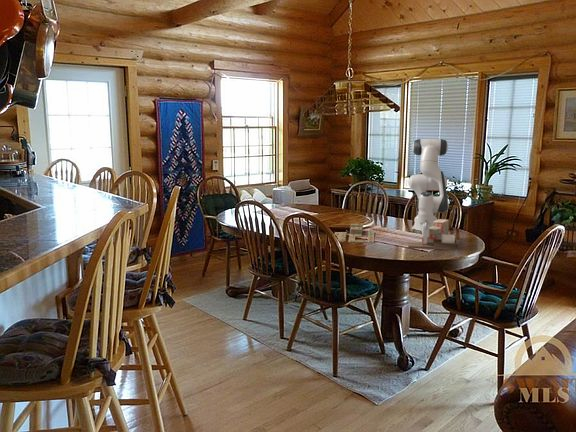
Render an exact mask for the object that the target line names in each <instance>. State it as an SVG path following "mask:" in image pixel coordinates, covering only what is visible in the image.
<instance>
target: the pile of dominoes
mask: <svg viewBox="0 0 576 432" xmlns="http://www.w3.org/2000/svg"><path fill="white" fill-rule="evenodd" d="M363 225H364V224H363V223H351V224H350V229H349V236H348V243H365V244H366V243H367V244H374V243H375V231H374V230H368V231H367V240H365V239H364V240H362V239H360V240H359V239H358V240H357V239H356V237H359V238H360V237H362V236H363V229H364V227H363ZM351 226H356V227H351ZM347 234H348V231H347V232H335V231H334V235H336V236H337V238H338V240H339V241H338V242H346V241H347Z"/></svg>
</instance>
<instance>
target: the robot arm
mask: <svg viewBox="0 0 576 432" xmlns="http://www.w3.org/2000/svg"><path fill="white" fill-rule="evenodd" d="M411 149H412V153H413V154H414V155H416V156H420V160H419V161H420V163H419V171H420V173H418V174H417V173H416V174H412V175H410V177H409V178H408V186H409V188H410V189H411V190H412V191H414V193H415V194H416V196H417V200H416V203H417V204H416V208H417V210H416V211H417V214H416V216H415V217H414V219H413V222H414V224H413V225H412V226H411V229H412V230H416V231H420V232H421V236H422V237H423V238H424V241H423V243H427V237H429V228H430V227H432V226H433V222H434V221H436V220H438V218H437V217H436V213H440V214H444V213H446V212H447V211H449V207H450V205H449V204H450V203H449V199H448V195H447V184H448V180H447V178H446V176H445V173H444V172H443V171H442V170H441V169H440V166H439V156H440V157H442V156H445V155H446V154H447V152H448V150H449V144H448V142H447V140H446V139H443V138H440V139H439V138H423V139H420V138H418V139H415V140H414V141H413V143H412V147H411ZM431 191H439V196H434V194H433V193H432V192H431Z"/></svg>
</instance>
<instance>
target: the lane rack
mask: <svg viewBox="0 0 576 432" xmlns="http://www.w3.org/2000/svg"><path fill="white" fill-rule="evenodd" d="M433 242H434V244H427V245H422V241H421V242H420V241H407V246H408V249H420V248H421V249H423V250H424V249H425V250H447V251H449V250H450V251H458V250H459V240H458V238H457V237H455V243H442V240H441V239H433Z"/></svg>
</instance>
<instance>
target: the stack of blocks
mask: <svg viewBox="0 0 576 432" xmlns="http://www.w3.org/2000/svg"><path fill="white" fill-rule="evenodd" d="M449 222H450V220H449V219H445V218H444V219H443V218H439V219H438V218H437V220H436V221H434V222H433V226H432V227H430V228H429V237H427V242H433V239H441V240H442V234H446V235H449V226H450V225H449V224H450V223H449Z"/></svg>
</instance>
